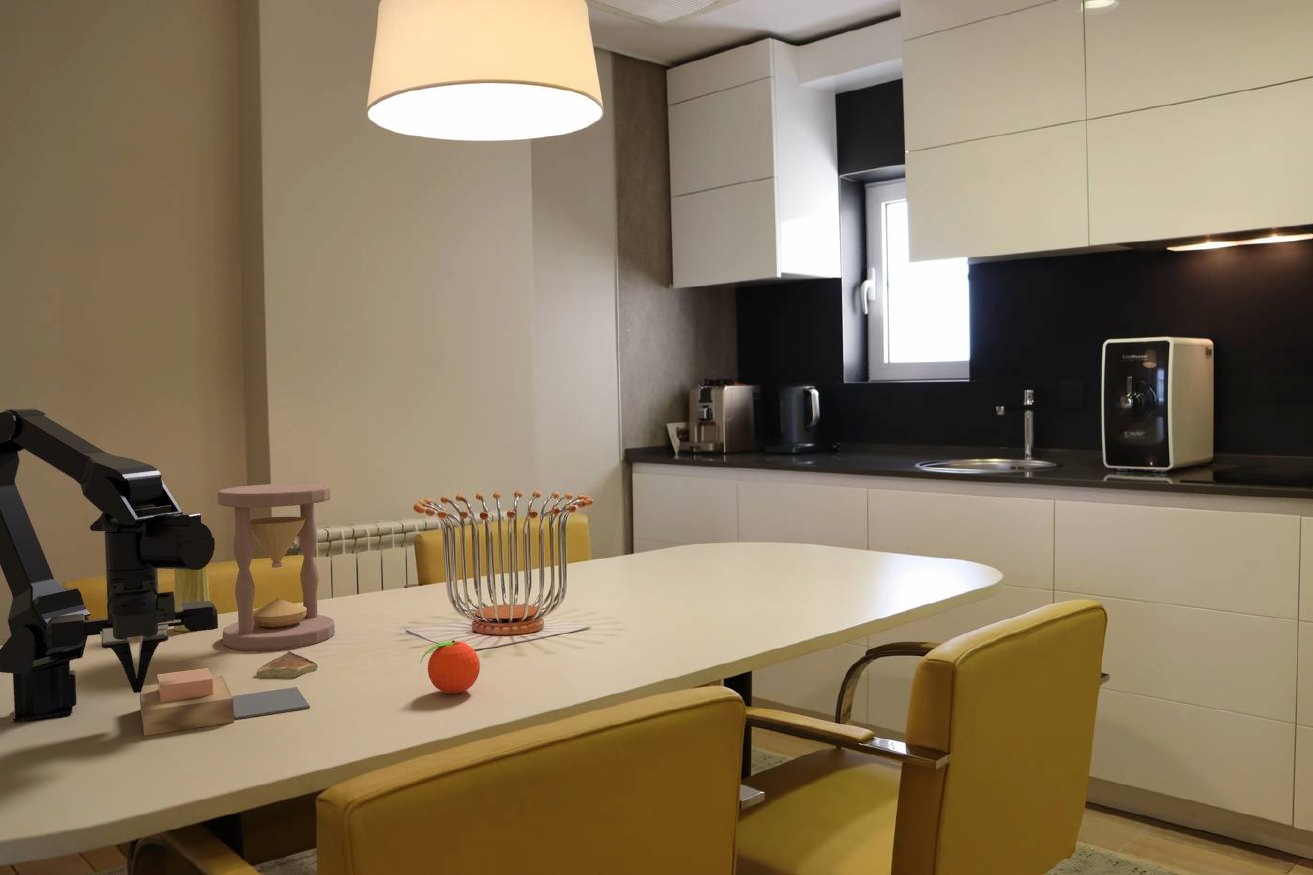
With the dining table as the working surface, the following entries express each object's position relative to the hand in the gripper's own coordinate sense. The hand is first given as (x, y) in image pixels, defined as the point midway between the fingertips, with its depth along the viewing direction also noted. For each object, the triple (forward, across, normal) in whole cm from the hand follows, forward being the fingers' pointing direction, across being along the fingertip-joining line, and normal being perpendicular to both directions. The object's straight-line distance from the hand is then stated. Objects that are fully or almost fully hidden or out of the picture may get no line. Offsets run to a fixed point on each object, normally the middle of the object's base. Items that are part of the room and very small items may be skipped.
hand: (137, 692), depth 131 cm
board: (+4, +5, 0) cm, 7 cm away
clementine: (+4, +38, -8) cm, 39 cm away
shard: (+5, +19, +17) cm, 26 cm away
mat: (+4, +15, 0) cm, 16 cm away
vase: (+4, +10, +54) cm, 55 cm away
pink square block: (+1, +5, 0) cm, 5 cm away
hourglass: (+4, +22, +38) cm, 44 cm away
